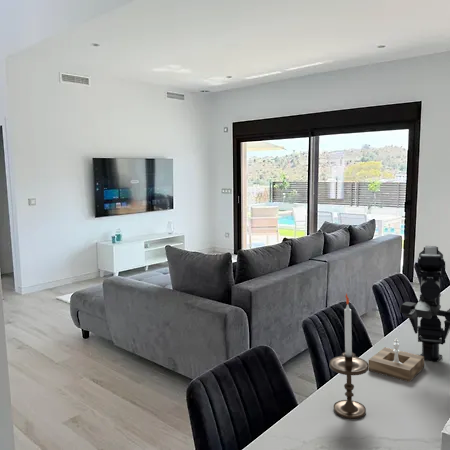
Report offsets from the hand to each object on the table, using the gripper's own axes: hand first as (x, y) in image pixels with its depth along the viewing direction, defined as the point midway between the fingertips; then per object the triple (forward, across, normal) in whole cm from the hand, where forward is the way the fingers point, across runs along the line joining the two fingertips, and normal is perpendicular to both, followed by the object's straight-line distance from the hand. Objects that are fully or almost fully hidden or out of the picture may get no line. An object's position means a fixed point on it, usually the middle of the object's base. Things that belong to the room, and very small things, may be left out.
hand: (430, 336), depth 143 cm
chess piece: (+12, -10, -4) cm, 16 cm away
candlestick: (+13, -10, -39) cm, 42 cm away
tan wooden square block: (+13, -10, -4) cm, 17 cm away
